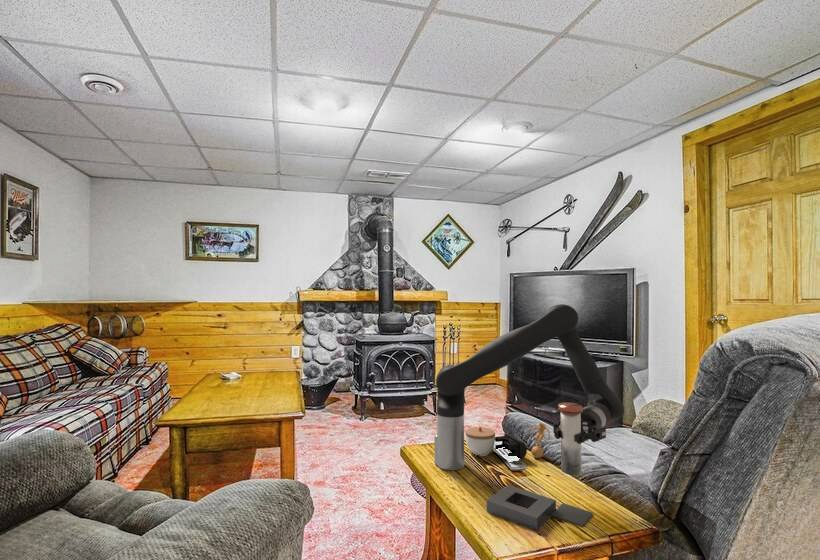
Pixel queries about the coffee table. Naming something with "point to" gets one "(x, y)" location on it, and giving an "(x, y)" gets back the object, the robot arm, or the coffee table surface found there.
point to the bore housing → (530, 517)
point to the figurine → (537, 450)
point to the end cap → (512, 445)
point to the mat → (572, 514)
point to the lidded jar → (480, 440)
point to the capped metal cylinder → (570, 437)
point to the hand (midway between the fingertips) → (567, 437)
